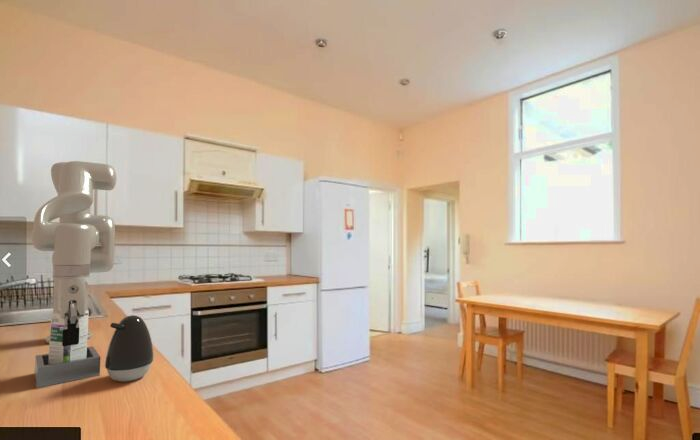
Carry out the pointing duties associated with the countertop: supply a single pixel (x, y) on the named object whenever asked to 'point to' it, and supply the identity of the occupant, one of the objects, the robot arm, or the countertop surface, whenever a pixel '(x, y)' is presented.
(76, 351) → the syrup box
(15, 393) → the countertop surface
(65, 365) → the gray square open frame
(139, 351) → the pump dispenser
